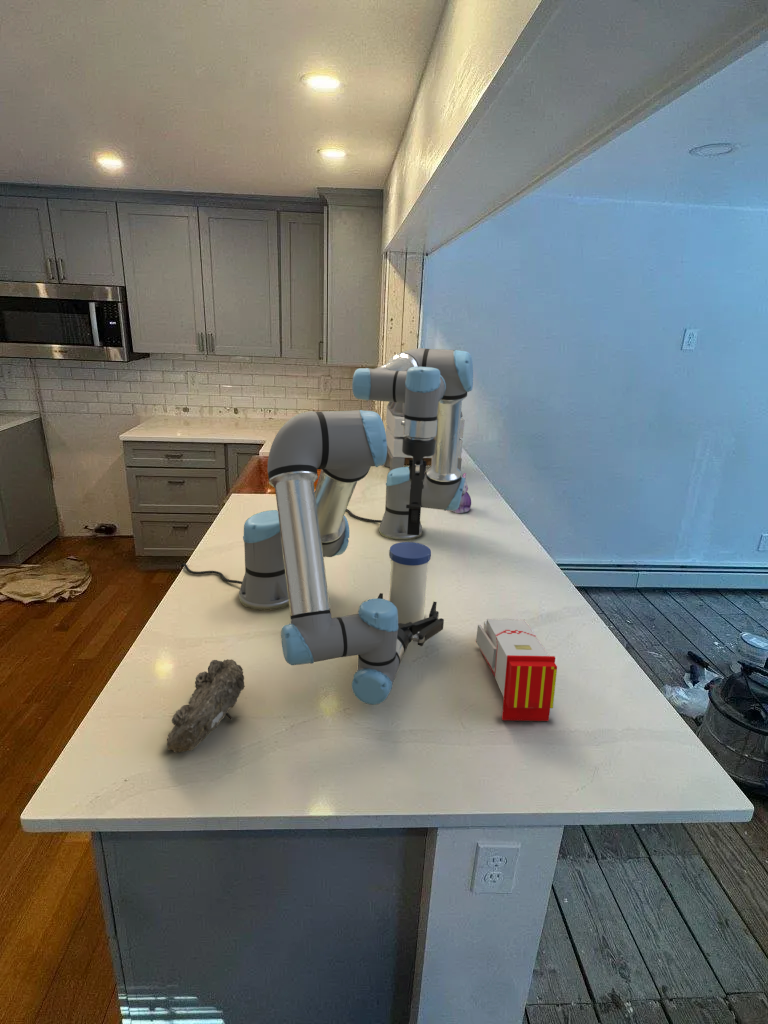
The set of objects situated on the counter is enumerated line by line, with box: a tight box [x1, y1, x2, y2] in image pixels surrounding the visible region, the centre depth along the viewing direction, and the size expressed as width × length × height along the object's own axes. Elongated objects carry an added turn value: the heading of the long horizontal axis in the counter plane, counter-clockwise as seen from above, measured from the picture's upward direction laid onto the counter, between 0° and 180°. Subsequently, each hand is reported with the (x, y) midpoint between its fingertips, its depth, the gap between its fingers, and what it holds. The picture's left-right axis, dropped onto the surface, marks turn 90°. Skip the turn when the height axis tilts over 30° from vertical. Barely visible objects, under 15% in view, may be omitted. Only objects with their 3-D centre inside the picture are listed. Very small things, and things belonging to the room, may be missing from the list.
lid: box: [388, 541, 432, 565], centre depth 139 cm, size 10×10×2 cm
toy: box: [475, 618, 558, 722], centre depth 122 cm, size 12×13×30 cm
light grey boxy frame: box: [383, 402, 465, 472], centre depth 268 cm, size 34×33×41 cm
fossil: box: [166, 658, 245, 754], centre depth 106 cm, size 22×10×15 cm
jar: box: [388, 559, 429, 629], centre depth 142 cm, size 9×9×19 cm
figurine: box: [452, 472, 472, 514], centre depth 224 cm, size 9×10×15 cm
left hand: (407, 602), depth 141 cm, fingers open, 13 cm apart
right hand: (413, 524), depth 136 cm, fingers open, 13 cm apart
